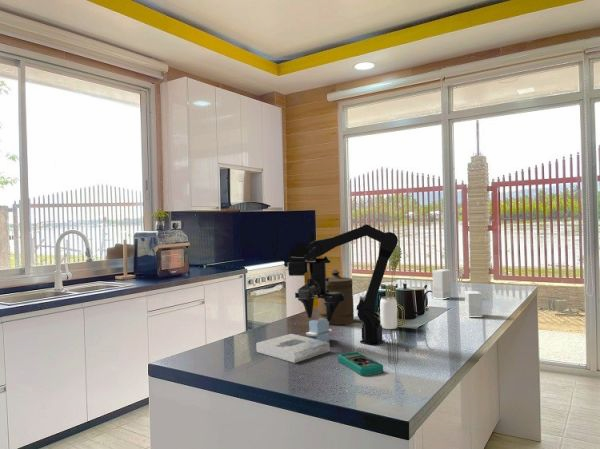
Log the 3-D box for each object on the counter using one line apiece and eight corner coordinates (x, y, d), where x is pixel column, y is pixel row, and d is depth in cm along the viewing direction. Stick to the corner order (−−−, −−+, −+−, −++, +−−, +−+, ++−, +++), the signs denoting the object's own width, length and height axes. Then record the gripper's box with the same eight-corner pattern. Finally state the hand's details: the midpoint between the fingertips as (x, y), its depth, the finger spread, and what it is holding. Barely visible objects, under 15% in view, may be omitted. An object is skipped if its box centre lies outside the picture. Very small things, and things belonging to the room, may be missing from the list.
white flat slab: (329, 351, 146) (329, 342, 146) (294, 362, 135) (294, 353, 135) (291, 342, 159) (291, 333, 159) (256, 351, 148) (256, 342, 148)
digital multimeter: (362, 378, 122) (361, 367, 122) (337, 363, 135) (336, 353, 135) (385, 374, 124) (384, 363, 124) (358, 359, 138) (358, 350, 138)
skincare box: (441, 297, 246) (440, 268, 246) (452, 298, 241) (451, 269, 241) (432, 299, 241) (431, 270, 241) (443, 300, 235) (442, 270, 235)
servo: (332, 339, 161) (332, 318, 161) (313, 345, 154) (313, 323, 154) (324, 338, 164) (323, 317, 164) (305, 343, 157) (305, 322, 157)
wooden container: (343, 316, 201) (342, 267, 201) (360, 323, 187) (358, 270, 187) (313, 319, 196) (312, 269, 196) (327, 326, 182) (326, 272, 182)
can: (390, 330, 173) (389, 299, 173) (377, 327, 178) (376, 297, 178) (400, 327, 177) (400, 297, 177) (387, 325, 182) (387, 295, 182)
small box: (482, 318, 190) (482, 293, 190) (468, 318, 191) (468, 293, 191) (478, 314, 198) (477, 290, 198) (465, 314, 199) (464, 290, 199)
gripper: (283, 276, 160) (284, 320, 160) (322, 279, 147) (323, 327, 147) (305, 273, 168) (306, 314, 168) (343, 276, 154) (345, 321, 154)
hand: (319, 319), depth 159 cm, fingers open, 9 cm apart
